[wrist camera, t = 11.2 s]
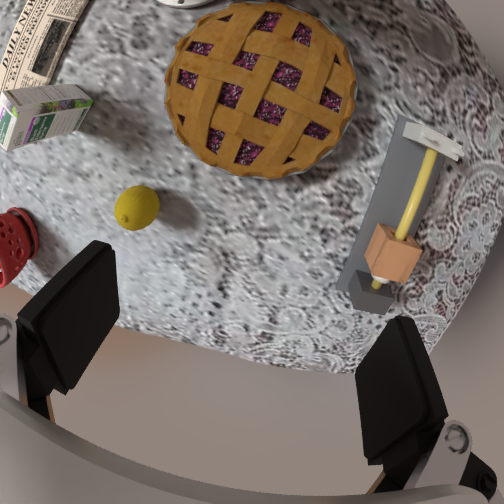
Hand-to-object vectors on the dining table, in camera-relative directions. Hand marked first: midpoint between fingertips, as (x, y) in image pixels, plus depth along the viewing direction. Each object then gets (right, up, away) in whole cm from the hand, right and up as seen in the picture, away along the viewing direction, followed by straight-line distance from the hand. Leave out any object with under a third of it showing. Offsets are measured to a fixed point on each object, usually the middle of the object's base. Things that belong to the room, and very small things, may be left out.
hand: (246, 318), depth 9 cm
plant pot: (-47, +7, +36) cm, 59 cm away
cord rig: (+19, +7, +26) cm, 33 cm away
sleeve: (+18, +3, +27) cm, 32 cm away
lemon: (-14, +10, +29) cm, 34 cm away
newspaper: (-36, +39, +17) cm, 55 cm away
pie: (+1, +22, +21) cm, 30 cm away
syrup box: (-26, +24, +23) cm, 42 cm away
